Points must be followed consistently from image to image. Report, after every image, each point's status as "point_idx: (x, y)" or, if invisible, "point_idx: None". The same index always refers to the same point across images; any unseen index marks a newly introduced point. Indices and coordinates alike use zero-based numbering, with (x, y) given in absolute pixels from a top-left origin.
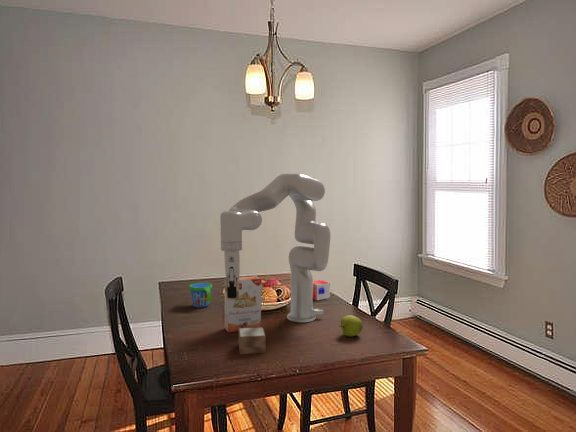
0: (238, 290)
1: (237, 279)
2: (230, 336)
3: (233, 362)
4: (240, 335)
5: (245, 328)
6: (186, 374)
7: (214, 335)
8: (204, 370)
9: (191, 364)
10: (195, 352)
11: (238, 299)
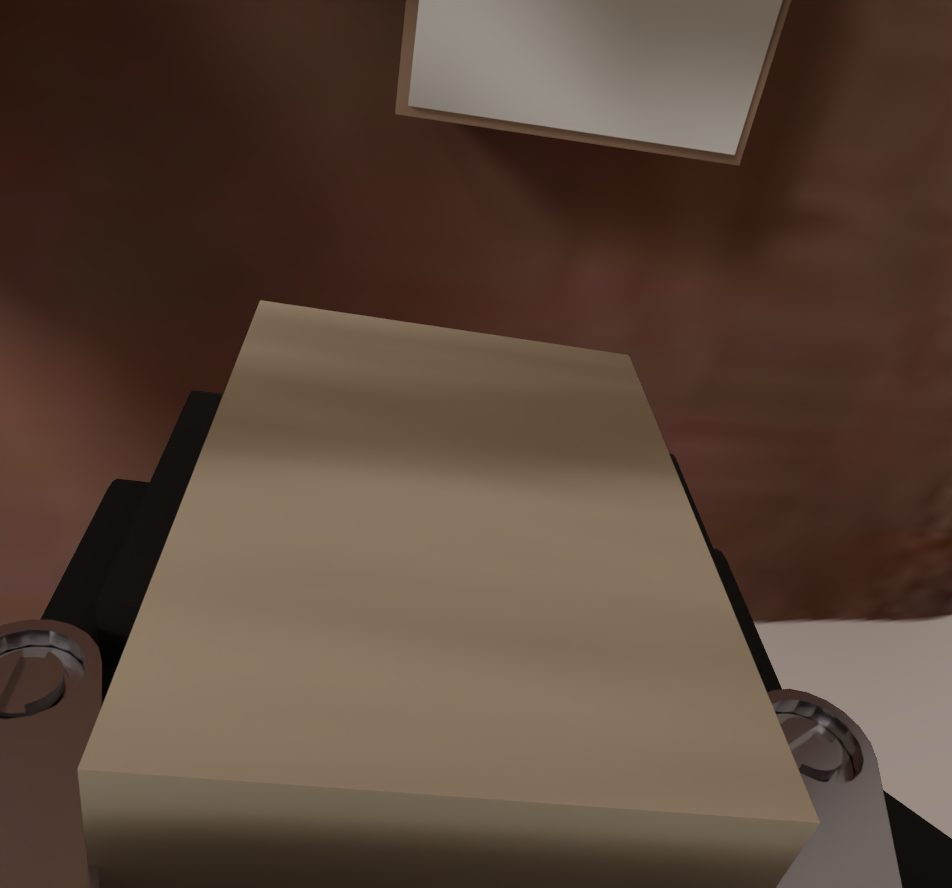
0: (687, 509)
1: (642, 844)
2: (99, 116)
3: (852, 215)
4: (701, 149)
5: (436, 11)
6: (875, 560)
7: (56, 289)
8: (878, 454)
9: (722, 525)
10: None
11: (628, 365)
